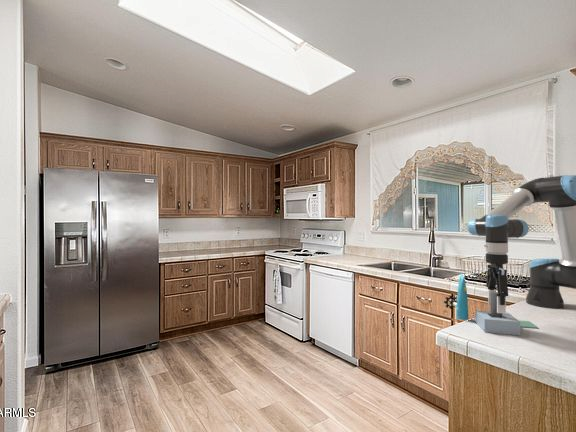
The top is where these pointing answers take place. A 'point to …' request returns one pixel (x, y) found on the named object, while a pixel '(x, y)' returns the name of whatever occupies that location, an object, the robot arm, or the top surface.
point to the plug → (495, 306)
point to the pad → (527, 324)
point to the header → (497, 323)
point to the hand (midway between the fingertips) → (496, 309)
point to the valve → (451, 302)
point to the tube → (462, 300)
